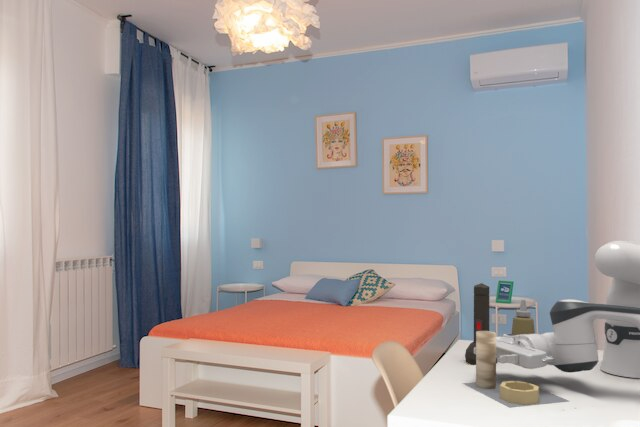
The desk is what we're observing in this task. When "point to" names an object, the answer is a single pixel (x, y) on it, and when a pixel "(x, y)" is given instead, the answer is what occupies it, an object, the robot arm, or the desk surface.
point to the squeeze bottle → (523, 321)
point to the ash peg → (486, 359)
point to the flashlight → (479, 318)
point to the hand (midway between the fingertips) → (486, 355)
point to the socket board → (496, 394)
